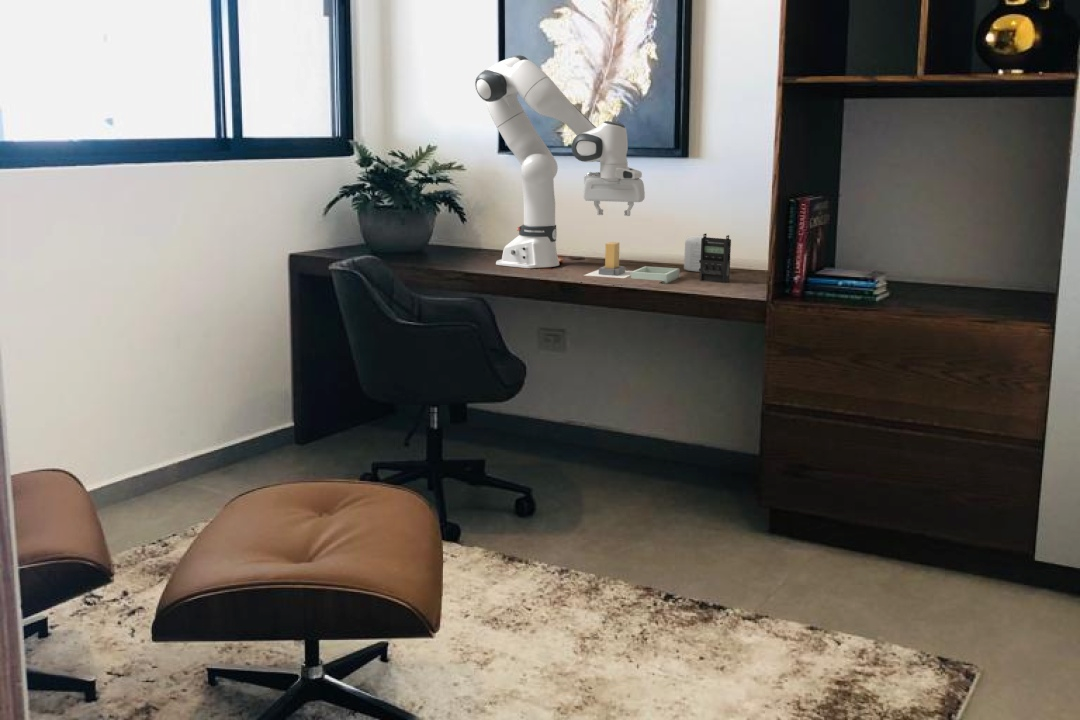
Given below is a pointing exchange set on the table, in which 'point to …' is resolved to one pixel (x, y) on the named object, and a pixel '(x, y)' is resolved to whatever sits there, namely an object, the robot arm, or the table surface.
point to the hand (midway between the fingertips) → (613, 215)
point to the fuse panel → (611, 272)
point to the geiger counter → (715, 259)
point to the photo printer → (693, 253)
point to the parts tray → (656, 274)
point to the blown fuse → (612, 255)
